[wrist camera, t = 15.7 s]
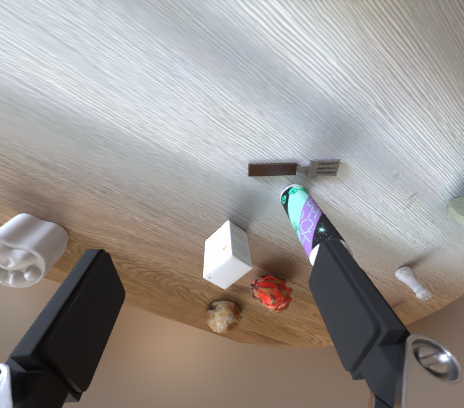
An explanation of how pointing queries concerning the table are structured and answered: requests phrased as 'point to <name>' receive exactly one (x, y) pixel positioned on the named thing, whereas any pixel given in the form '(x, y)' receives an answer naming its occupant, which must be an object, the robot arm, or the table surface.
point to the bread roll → (223, 316)
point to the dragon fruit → (272, 292)
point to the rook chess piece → (412, 282)
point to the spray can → (308, 220)
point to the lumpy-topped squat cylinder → (29, 249)
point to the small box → (227, 255)
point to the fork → (293, 168)
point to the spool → (456, 209)
